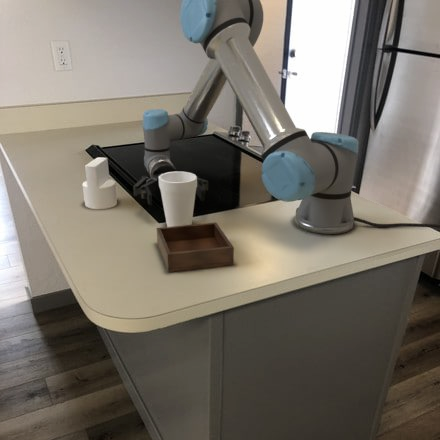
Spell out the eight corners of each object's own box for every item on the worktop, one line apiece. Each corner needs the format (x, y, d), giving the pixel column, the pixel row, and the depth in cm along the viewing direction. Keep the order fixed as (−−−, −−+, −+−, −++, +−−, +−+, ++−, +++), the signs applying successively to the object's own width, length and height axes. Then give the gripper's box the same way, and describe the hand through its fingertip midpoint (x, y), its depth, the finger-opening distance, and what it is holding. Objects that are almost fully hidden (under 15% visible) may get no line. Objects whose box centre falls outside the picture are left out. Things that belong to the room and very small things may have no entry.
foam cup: (178, 216, 132) (177, 169, 125) (204, 225, 127) (204, 176, 120) (153, 226, 126) (150, 177, 119) (179, 236, 121) (178, 185, 114)
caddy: (216, 238, 120) (216, 222, 118) (233, 264, 108) (233, 247, 106) (157, 244, 117) (156, 227, 114) (168, 272, 105) (167, 254, 102)
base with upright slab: (110, 210, 135) (105, 167, 129) (79, 207, 136) (73, 165, 130) (121, 199, 143) (117, 158, 137) (92, 197, 144) (87, 156, 138)
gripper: (204, 183, 146) (223, 207, 129) (120, 189, 141) (129, 215, 123) (204, 158, 143) (224, 180, 125) (118, 163, 137) (126, 187, 119)
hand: (177, 198), depth 124 cm, fingers open, 13 cm apart
